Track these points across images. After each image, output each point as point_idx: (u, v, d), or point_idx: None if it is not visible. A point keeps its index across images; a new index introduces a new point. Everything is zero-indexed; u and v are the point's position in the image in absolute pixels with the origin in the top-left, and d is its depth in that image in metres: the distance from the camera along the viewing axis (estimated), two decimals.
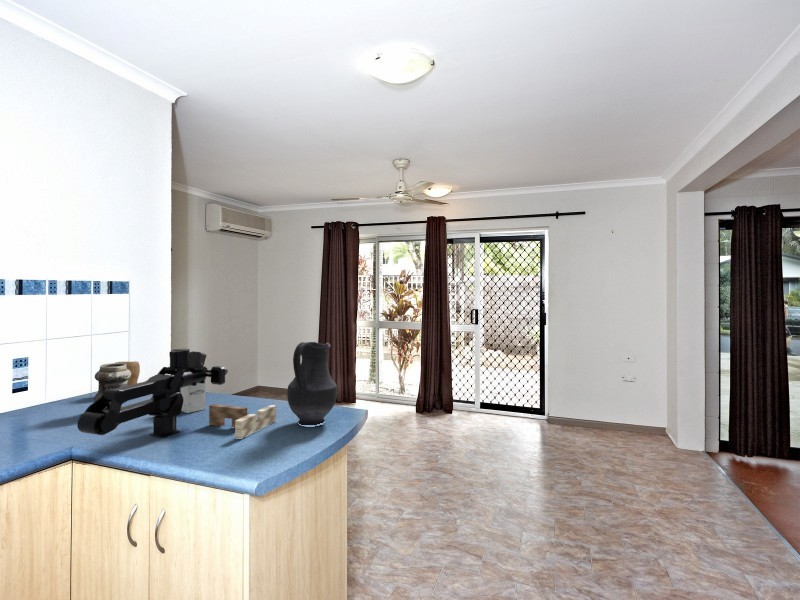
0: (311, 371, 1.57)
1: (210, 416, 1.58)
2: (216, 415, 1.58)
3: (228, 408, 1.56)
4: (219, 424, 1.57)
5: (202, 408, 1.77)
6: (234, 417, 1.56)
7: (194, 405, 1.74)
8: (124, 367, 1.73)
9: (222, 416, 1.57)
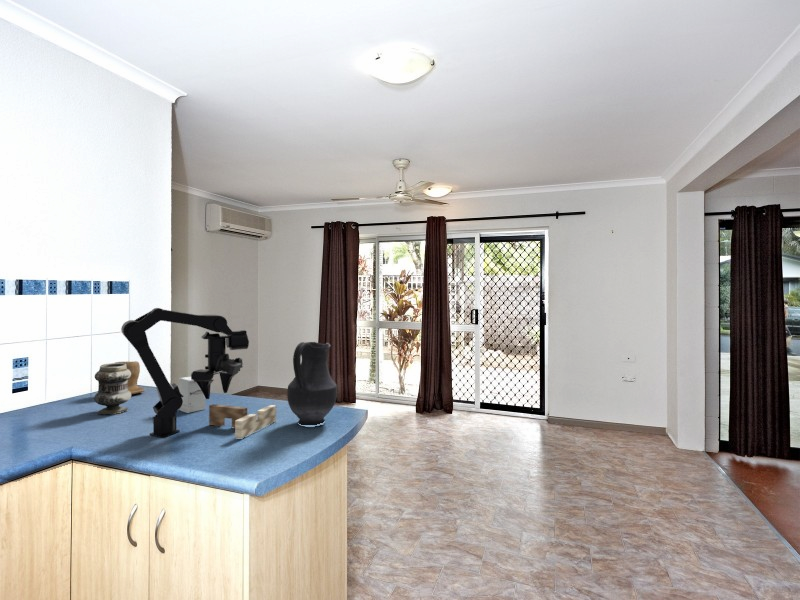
0: (311, 371, 1.57)
1: (210, 416, 1.58)
2: (216, 415, 1.58)
3: (228, 408, 1.56)
4: (219, 424, 1.57)
5: (202, 408, 1.77)
6: (234, 417, 1.56)
7: (194, 405, 1.74)
8: (124, 367, 1.73)
9: (222, 416, 1.57)
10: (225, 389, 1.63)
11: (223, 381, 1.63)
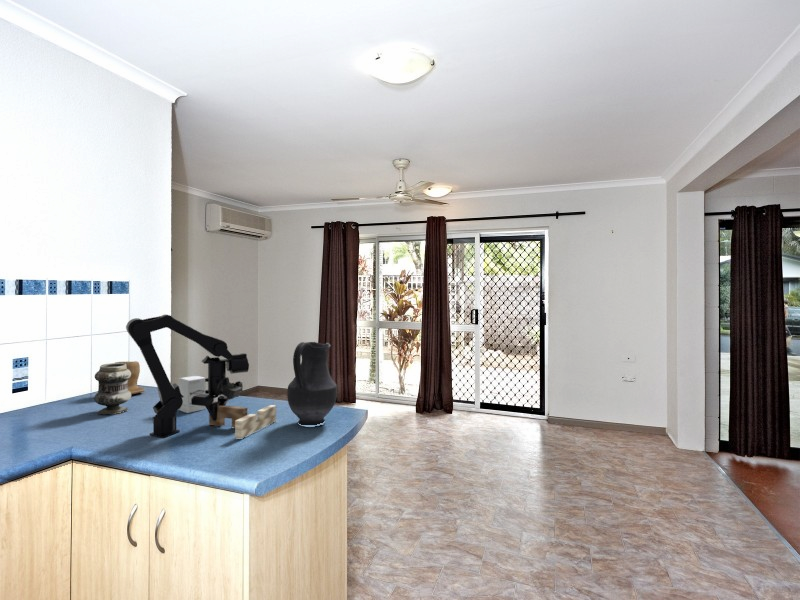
0: (311, 371, 1.57)
1: (210, 416, 1.58)
2: None
3: (228, 408, 1.56)
4: (219, 424, 1.57)
5: (202, 408, 1.77)
6: (234, 417, 1.56)
7: (194, 405, 1.74)
8: (124, 367, 1.73)
9: (222, 416, 1.57)
10: None
11: None
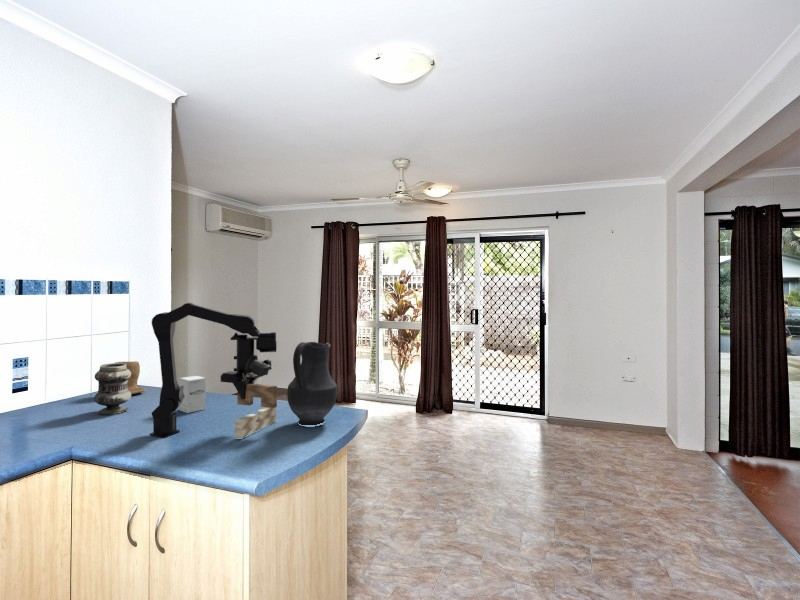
0: (311, 371, 1.57)
1: (238, 394, 1.55)
2: None
3: (257, 386, 1.53)
4: (248, 403, 1.54)
5: (202, 408, 1.77)
6: (263, 395, 1.52)
7: (194, 405, 1.74)
8: (124, 367, 1.73)
9: (251, 394, 1.53)
10: None
11: None
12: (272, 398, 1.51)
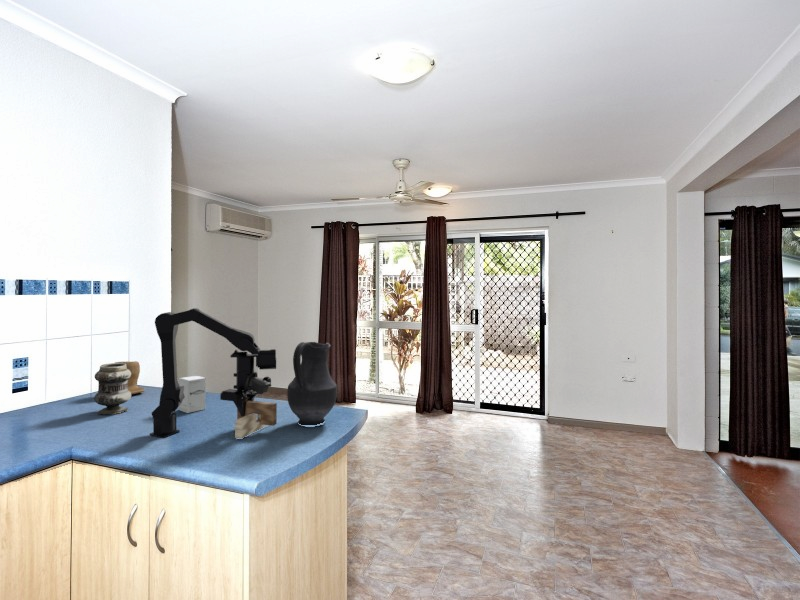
0: (311, 371, 1.57)
1: (238, 411, 1.55)
2: None
3: (257, 403, 1.53)
4: None
5: (202, 408, 1.77)
6: (263, 413, 1.52)
7: (194, 405, 1.74)
8: (124, 367, 1.73)
9: (251, 412, 1.53)
10: None
11: None
12: (272, 416, 1.51)
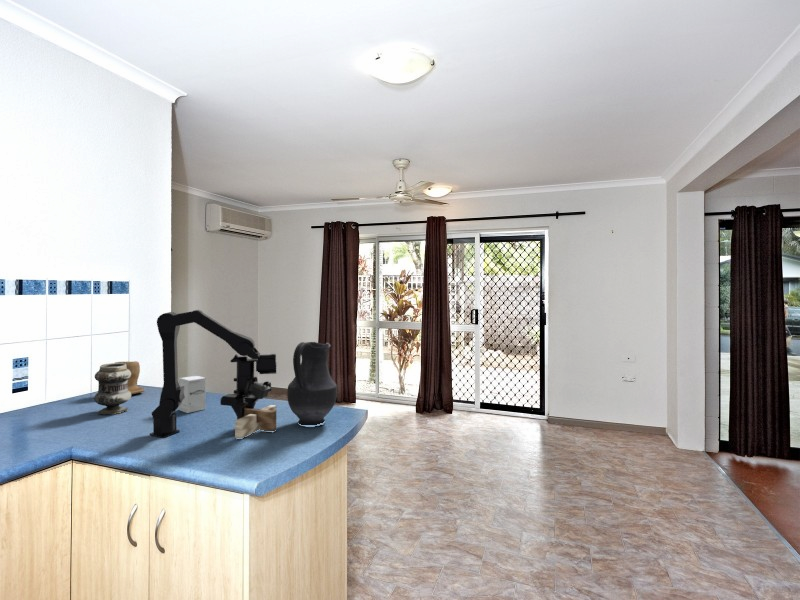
0: (311, 371, 1.57)
1: None
2: None
3: (257, 411, 1.53)
4: None
5: (202, 408, 1.77)
6: (263, 420, 1.52)
7: (194, 405, 1.74)
8: (124, 367, 1.73)
9: None
10: None
11: (247, 407, 1.58)
12: (272, 423, 1.51)
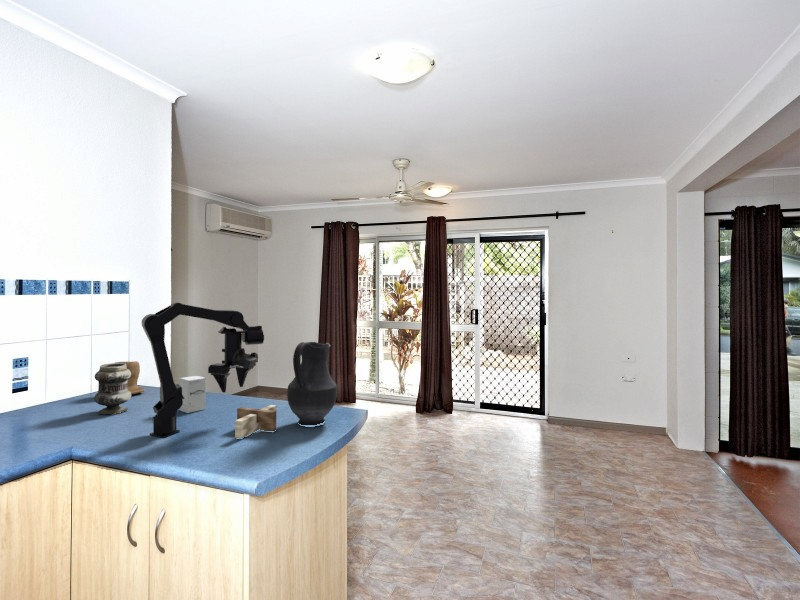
0: (311, 371, 1.57)
1: None
2: None
3: (257, 411, 1.53)
4: None
5: (202, 408, 1.77)
6: (263, 420, 1.52)
7: (194, 405, 1.74)
8: (124, 367, 1.73)
9: None
10: (241, 383, 1.66)
11: (239, 376, 1.67)
12: (272, 423, 1.51)
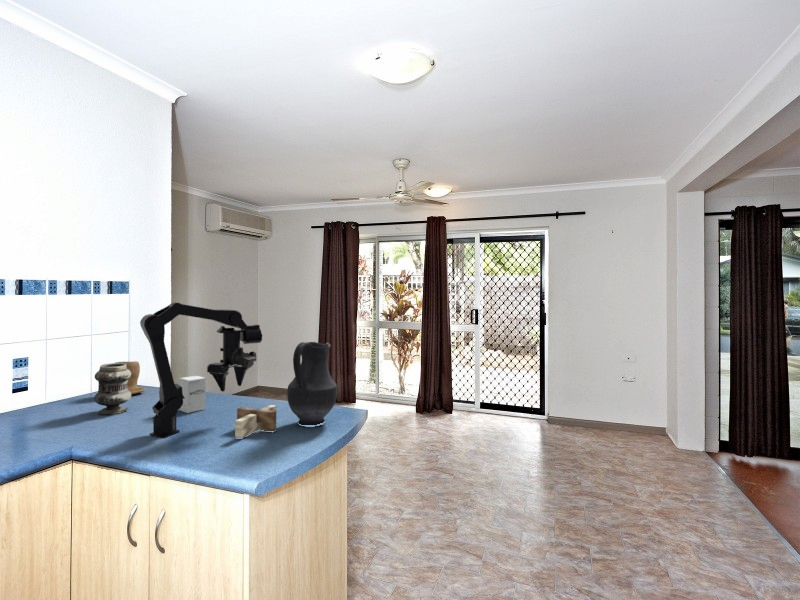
0: (311, 371, 1.57)
1: None
2: None
3: (257, 411, 1.53)
4: None
5: (202, 408, 1.77)
6: (263, 420, 1.52)
7: (194, 405, 1.74)
8: (124, 367, 1.73)
9: None
10: (239, 382, 1.67)
11: (238, 375, 1.67)
12: (272, 423, 1.51)
